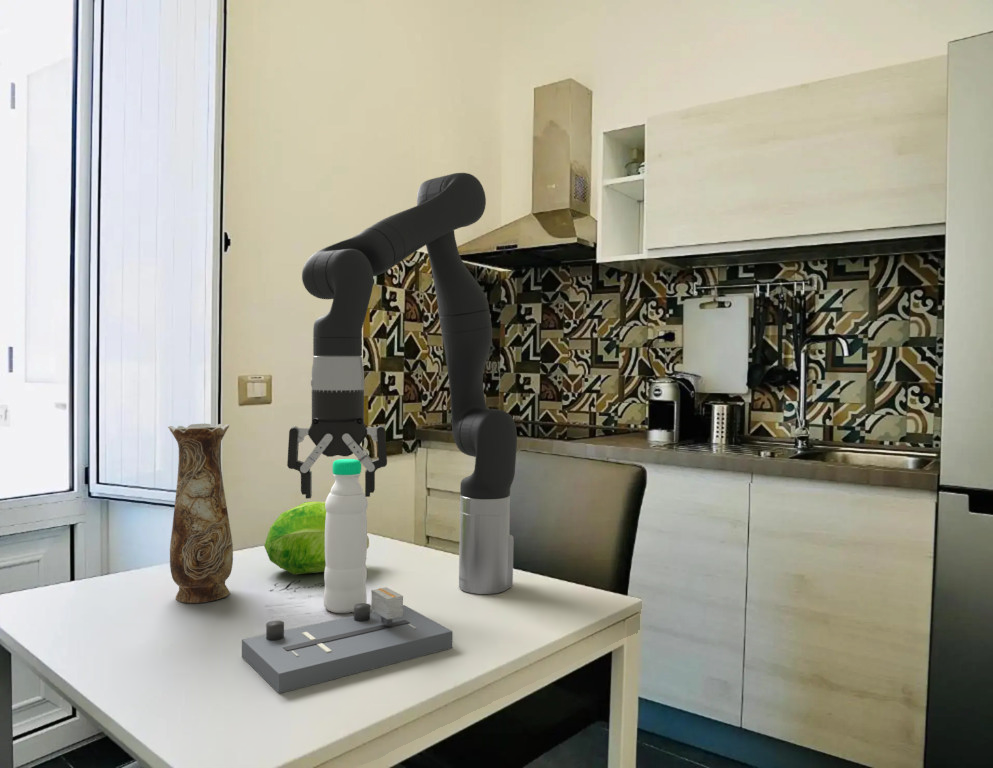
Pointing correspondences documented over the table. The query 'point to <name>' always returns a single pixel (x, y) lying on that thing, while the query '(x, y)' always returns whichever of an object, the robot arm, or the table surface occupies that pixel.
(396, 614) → the fader
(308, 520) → the lettuce
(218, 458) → the vase
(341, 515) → the water bottle
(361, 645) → the console
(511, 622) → the table surface
